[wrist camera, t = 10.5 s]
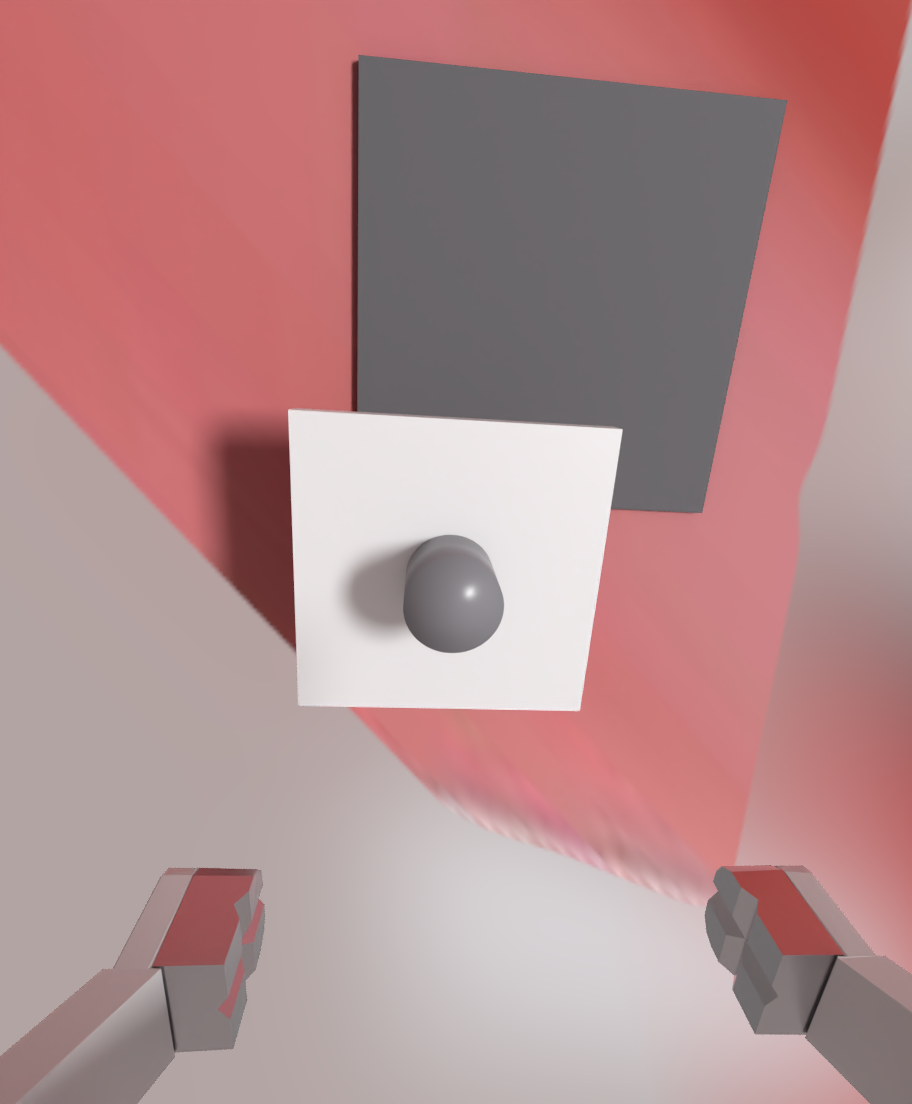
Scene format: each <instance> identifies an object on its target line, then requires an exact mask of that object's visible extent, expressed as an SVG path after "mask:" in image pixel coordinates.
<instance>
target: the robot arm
mask: <svg viewBox="0 0 912 1104" xmlns="http://www.w3.org/2000/svg"><path fill="white" fill-rule="evenodd" d="M713 882H714V884H715V886H716V888H717V890H718V892H717V893H716V894H715V895H713V896H712V897H711V898H710V899H709V900H708V902H707V907H706V911H705V922H706V930H707V935H708V938H709V941H710V944H711V947H712V949H713V951H714V953H715V955H716V957H717V959H718V961H719V962H720V963H721V964H722V965H723V966H724V967H726V968H727V969H728V970H729V971H730V972H731V973H732V974H733V975H734V981H733V991H734V994H735V996H736V998H737V1000H738V1001H739V1003H740V1005H741V1007H742V1009H743V1011H744V1013H745V1015H746V1017H747V1019H748V1021H749V1023H750V1025H751V1027H752V1029H753V1031H754V1033H755V1034H798V1035H801V1034H804V1035H806V1037H805V1038H806V1039H807V1040H808V1041H809V1042H810V1043H811V1044H812V1045H813V1046H814V1047H815V1048H816V1049H817V1050H818V1051H819V1052H820V1053H821V1054H822V1055H823V1056H824V1057H825V1058H826V1059H827V1060H828V1061H829V1062H830V1063H831V1064H832V1065H833V1066H834V1067H835V1068H836V1069H837V1070H838V1071H839V1073H840V1074H842V1076H844V1078H845V1079H846V1080H848V1082H849V1083H850V1084H851V1085H852V1086H853V1087H854V1088H855V1089H856V1090H857V1091H858V1092H859V1093H860V1094H861V1095H862V1096H863V1097H864V1098H866V1100H867V1101H868V1102H869V1103H870V1104H912V974H910V973H909V972H908V971H906V970H905V969H903V968H902V967H900V966H899V965H897V964H896V963H894V962H893V961H892V960H890V959H889V958H887V957H886V956H876V955H875V953H874V952H873V951H872V949H871V948H870V947H869V946H868V944H867V943H866V942H865V940H864V939H863V938H862V937H861V935H860V934H859V933H858V931H857V930H856V929H855V928H854V926H853V925H852V924H851V923H850V921H849V920H848V919H847V917H846V916H845V915H844V913H843V912H842V911H841V910H840V908H839V907H838V906H837V904H836V903H835V902H834V901H833V899H832V898H831V897H830V896H829V894H828V893H827V892H826V890H825V889H824V888H823V886H822V885H821V884H820V883H819V881H818V880H817V879H816V877H815V876H814V875H813V874H812V872H810V871H809V870H808V869H807V868H805V867H804V866H771V865H765V866H722V867H720V868H719V869H718V870H717V871H716V874H715V877H714V881H713ZM262 886H263V882H262V872H261V870H258V869H221V868H168V870H167V871H166V872H165V873H164V874H163V875H162V876H161V877H160V879H159V881H158V883H157V885H156V887H155V889H154V891H153V892H152V894H151V897H150V898H149V900H148V902H147V904H146V906H145V908H144V910H143V912H142V914H141V915H140V918H139V919H138V921H137V923H136V925H135V927H134V929H133V931H132V933H131V935H130V937H129V939H128V941H127V942H126V944H125V946H124V948H123V950H122V952H121V954H120V956H119V958H118V960H117V962H116V964H115V966H114V967H113V969H102V970H101V971H100V972H99V973H98V974H97V975H95V976H94V977H93V978H92V979H91V980H89V981H88V982H87V983H86V984H85V985H84V986H82V987H81V988H80V989H79V990H78V991H77V992H75V993H74V994H73V995H72V996H71V997H70V998H68V999H67V1000H66V1001H65V1002H64V1003H62V1004H61V1005H60V1006H59V1007H58V1008H57V1009H55V1010H54V1011H53V1012H52V1013H51V1014H49V1015H48V1016H47V1017H46V1018H45V1019H44V1020H42V1021H41V1022H40V1023H39V1024H38V1025H37V1026H36V1027H34V1028H33V1029H32V1030H31V1031H29V1033H27V1034H26V1035H25V1036H24V1037H22V1038H21V1039H20V1040H19V1041H18V1042H16V1043H15V1044H14V1045H13V1046H12V1047H11V1048H9V1049H8V1050H7V1051H6V1052H5V1053H3V1054H2V1055H1V1056H0V1104H137V1103H138V1102H139V1101H140V1100H141V1098H142V1097H143V1096H144V1094H145V1093H146V1092H147V1091H148V1090H149V1088H150V1087H151V1086H152V1085H153V1083H154V1082H155V1081H156V1079H157V1078H158V1077H159V1076H160V1075H161V1073H162V1072H163V1071H164V1070H165V1069H166V1067H167V1066H168V1065H169V1063H170V1062H171V1061H172V1060H173V1059H174V1057H175V1053H174V1052H190V1051H207V1050H222V1049H233V1048H234V1044H235V1041H236V1037H237V1034H238V1030H239V1026H240V1023H241V1020H242V1016H243V1013H244V1009H245V1005H246V1002H247V993H246V982H245V981H246V979H247V978H248V977H249V976H250V975H251V974H252V973H253V972H254V971H255V970H256V966H257V962H258V958H259V955H260V951H261V945H262V939H263V933H264V923H265V909H264V904H263V903H262V902H261V901H260V900H259V896H260V893H261V889H262Z"/></svg>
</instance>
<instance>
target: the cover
mask: <svg viewBox="0 0 912 1104" xmlns="http://www.w3.org/2000/svg"><path fill="white" fill-rule="evenodd" d="M288 419H289V448H290V478H291V507H292V537H293V566H294V596H295V625H296V654H297V681H298V682H297V683H298V705H299V706H339V707H392V708H446V709H500V710H554V711H580V705H581V699H582V692H583V686H584V679H585V673H586V666H587V660H588V653H589V647H590V640H591V634H592V627H593V620H594V614H595V607H596V601H597V594H598V588H599V581H600V575H601V568H602V562H603V555H604V549H605V542H606V536H607V529H608V523H609V516H610V509H611V503H612V496H613V490H614V483H615V477H616V470H617V464H618V457H619V451H620V444H621V438H622V431H623V429H620V428H617V427H611V426H594V425H577V424H560V423H543V422H526V421H509V420H492V419H475V418H458V417H440V416H423V415H406V414H389V413H372V412H355V411H338V410H321V409H304V408H293V409H289V410H288Z"/></svg>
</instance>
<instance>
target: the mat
mask: <svg viewBox="0 0 912 1104" xmlns="http://www.w3.org/2000/svg"><path fill="white" fill-rule="evenodd" d="M786 104H787V100H778V99H769V98H759V97H750V96H741V95H731V94H722V93H712V92H703V91H693V90H684V89H675V88H665V87H656V86H646V85H637V84H627V83H618V82H609V81H599V80H590V79H580V78H571V77H561V76H552V75H543V74H533V73H524V72H514V71H505V70H495V69H486V68H477V67H467V66H458V65H448V64H439V63H429V62H420V61H411V60H401V59H392V58H382V57H373V56H363V55H359V103H358V364H357V412H372V413H389V414H406V415H423V416H440V417H458V418H475V419H492V420H509V421H526V422H543V423H560V424H577V425H594V426H611V427H617V428H620V429H623V431H622V438H621V444H620V451H619V457H618V464H617V470H616V477H615V483H614V490H613V496H612V503H611V509H629V510H650V511H672V512H694V513H702V511H703V506H704V501H705V496H706V491H707V487H708V482H709V477H710V472H711V467H712V462H713V458H714V453H715V448H716V443H717V438H718V433H719V429H720V424H721V419H722V414H723V409H724V404H725V400H726V395H727V390H728V385H729V380H730V375H731V371H732V366H733V361H734V356H735V351H736V346H737V341H738V337H739V332H740V327H741V322H742V317H743V312H744V308H745V303H746V298H747V293H748V288H749V283H750V279H751V274H752V269H753V264H754V259H755V254H756V250H757V245H758V240H759V235H760V230H761V225H762V221H763V216H764V211H765V206H766V201H767V196H768V192H769V187H770V182H771V177H772V172H773V167H774V163H775V158H776V153H777V148H778V143H779V138H780V133H781V129H782V124H783V119H784V114H785V109H786Z"/></svg>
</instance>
